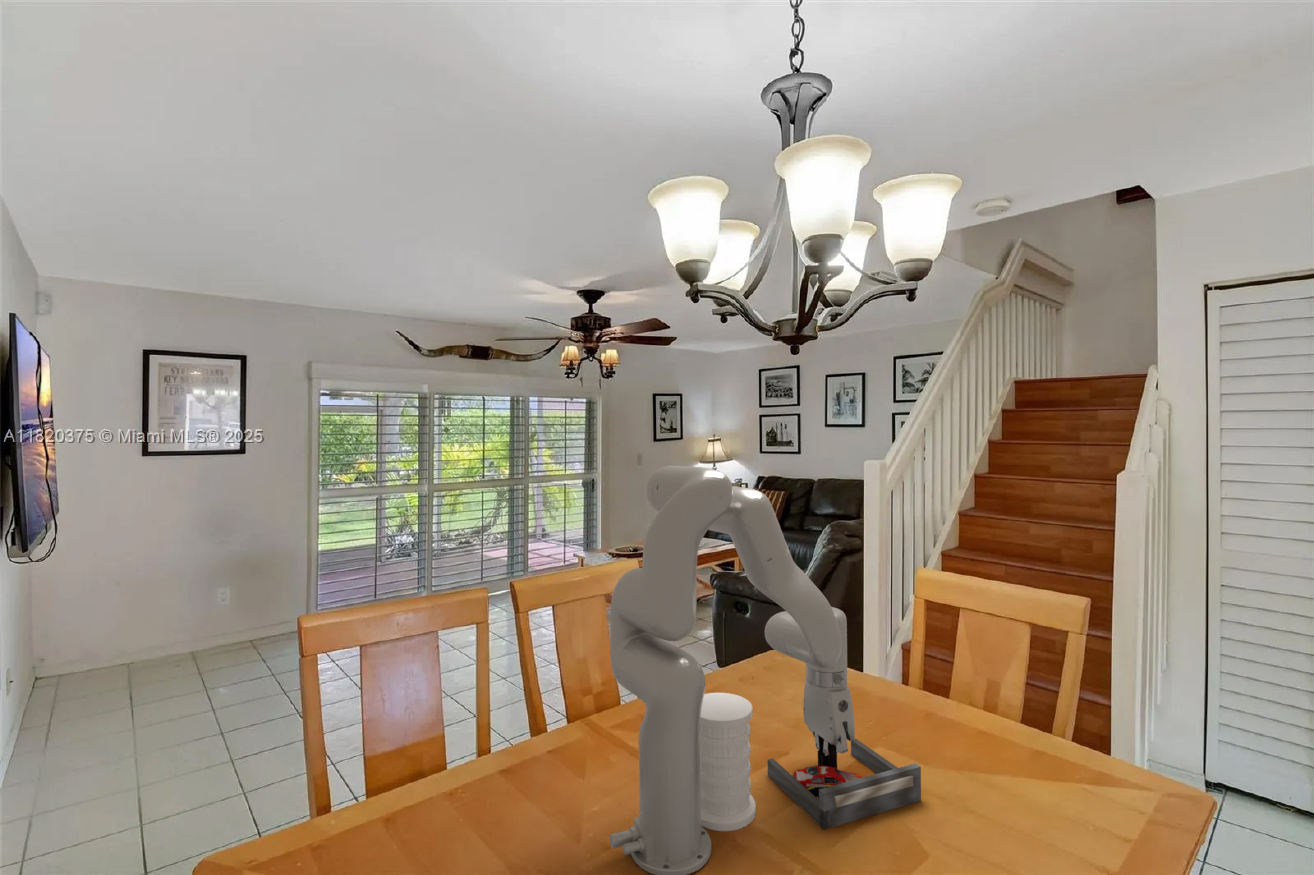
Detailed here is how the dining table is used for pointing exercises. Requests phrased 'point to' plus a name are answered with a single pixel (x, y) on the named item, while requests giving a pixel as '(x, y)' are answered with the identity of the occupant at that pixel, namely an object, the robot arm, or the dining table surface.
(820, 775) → the race car
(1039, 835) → the dining table surface
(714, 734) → the decorative container
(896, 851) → the dining table surface
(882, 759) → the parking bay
